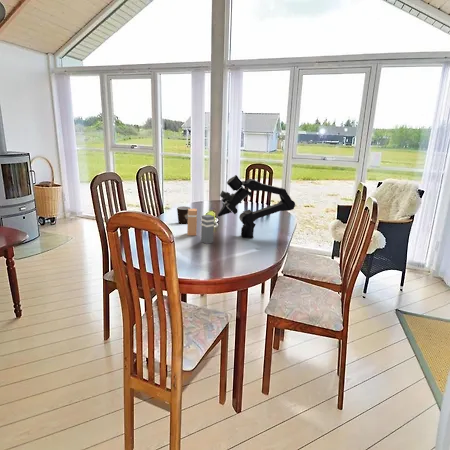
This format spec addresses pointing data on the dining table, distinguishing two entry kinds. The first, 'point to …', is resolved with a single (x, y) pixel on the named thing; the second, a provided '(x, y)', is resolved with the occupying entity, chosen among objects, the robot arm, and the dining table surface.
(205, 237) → the post two bands
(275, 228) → the dining table surface
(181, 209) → the coffee mug
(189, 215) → the post one band
